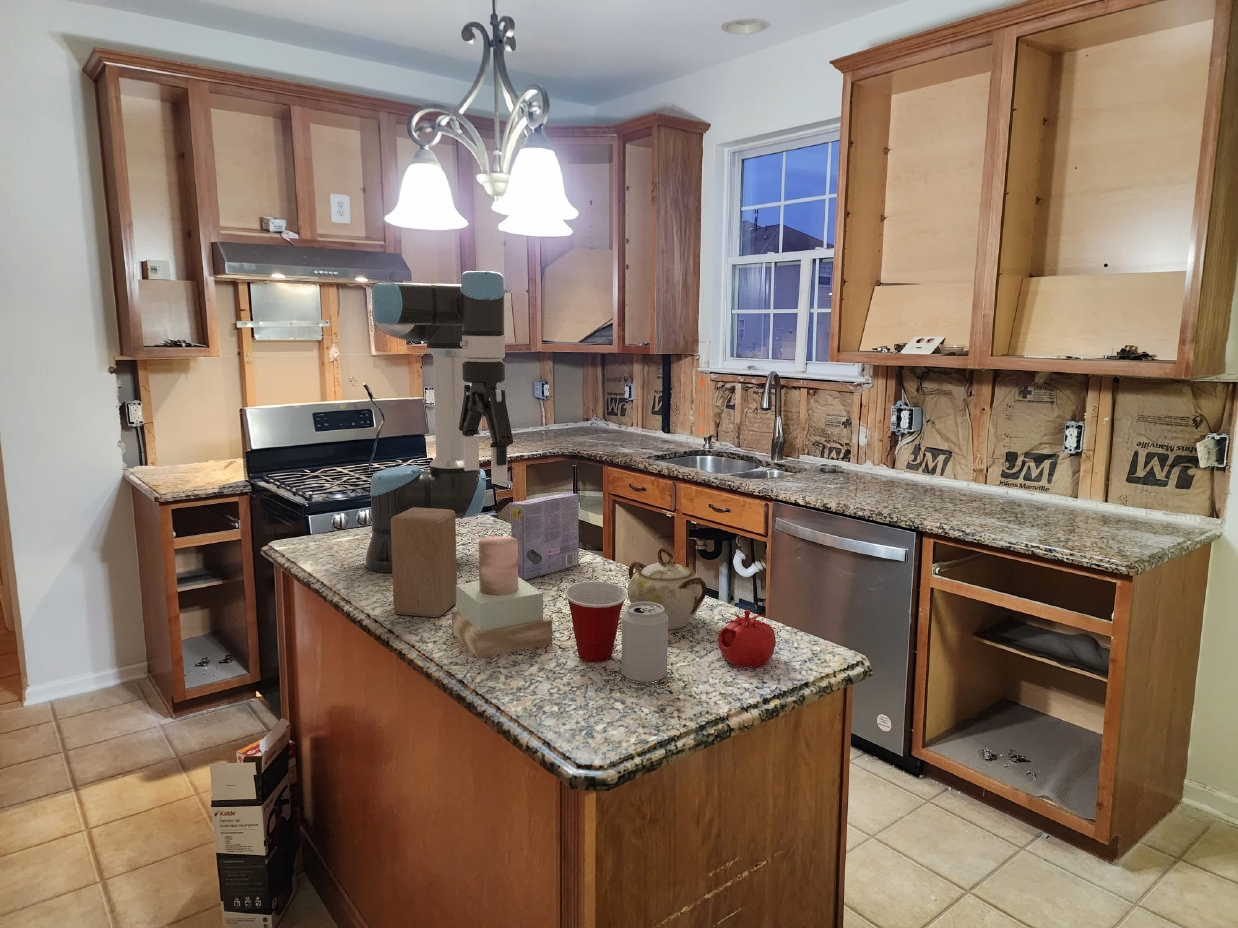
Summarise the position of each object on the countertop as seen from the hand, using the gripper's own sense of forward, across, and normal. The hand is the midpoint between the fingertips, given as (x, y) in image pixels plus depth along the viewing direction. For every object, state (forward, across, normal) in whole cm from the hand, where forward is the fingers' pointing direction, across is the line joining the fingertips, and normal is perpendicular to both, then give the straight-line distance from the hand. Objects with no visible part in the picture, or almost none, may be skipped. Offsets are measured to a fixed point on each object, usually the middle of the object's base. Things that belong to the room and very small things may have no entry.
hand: (485, 476), depth 148 cm
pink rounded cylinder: (+20, +6, 0) cm, 21 cm away
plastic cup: (+29, +22, +11) cm, 38 cm away
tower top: (+25, +6, 0) cm, 26 cm away
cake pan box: (+30, -28, +26) cm, 49 cm away
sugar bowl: (+29, +14, +31) cm, 45 cm away
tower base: (+30, +6, 0) cm, 30 cm away
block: (+30, -16, -7) cm, 34 cm away
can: (+29, +33, +14) cm, 46 cm away
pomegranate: (+29, +36, +33) cm, 57 cm away
